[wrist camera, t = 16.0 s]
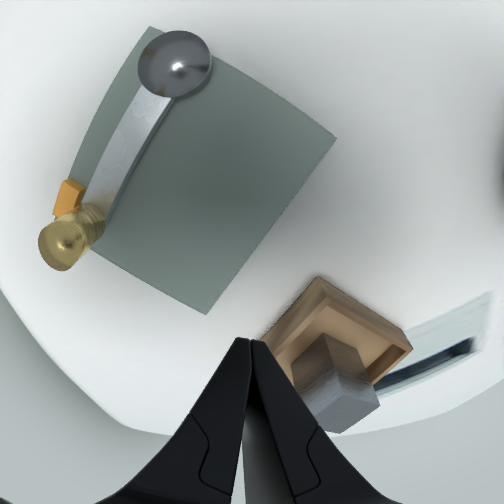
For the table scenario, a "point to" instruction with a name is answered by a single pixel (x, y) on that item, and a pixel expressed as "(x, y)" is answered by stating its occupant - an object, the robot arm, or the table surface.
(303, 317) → the tray
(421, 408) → the table surface
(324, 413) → the block
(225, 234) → the crank base
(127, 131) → the crank
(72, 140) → the table surface
